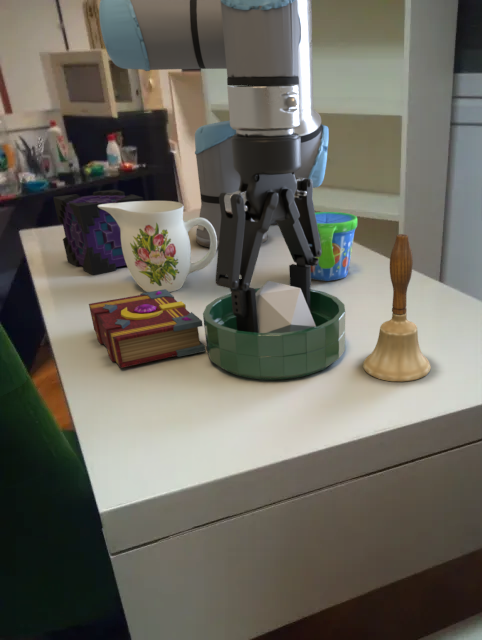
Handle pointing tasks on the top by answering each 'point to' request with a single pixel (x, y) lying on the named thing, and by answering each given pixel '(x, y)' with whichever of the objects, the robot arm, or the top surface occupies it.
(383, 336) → the hand bell
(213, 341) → the bowl
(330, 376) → the top surface
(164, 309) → the decorative book
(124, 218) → the pitcher
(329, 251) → the snack cup
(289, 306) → the die
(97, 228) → the energy cube
